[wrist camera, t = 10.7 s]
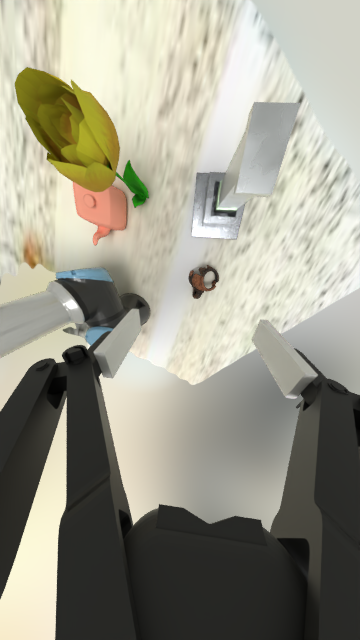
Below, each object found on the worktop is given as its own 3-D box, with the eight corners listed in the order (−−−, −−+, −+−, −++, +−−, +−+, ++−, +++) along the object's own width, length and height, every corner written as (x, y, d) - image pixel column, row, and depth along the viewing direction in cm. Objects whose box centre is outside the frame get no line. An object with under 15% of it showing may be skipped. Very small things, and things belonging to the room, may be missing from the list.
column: (212, 217, 33) (234, 192, 15) (217, 183, 29) (252, 102, 12) (230, 218, 32) (273, 194, 15) (237, 184, 29) (301, 103, 12)
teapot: (130, 178, 37) (110, 159, 29) (127, 248, 47) (112, 250, 38) (89, 166, 37) (56, 142, 28) (95, 239, 46) (72, 239, 37)
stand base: (191, 236, 43) (191, 235, 33) (196, 175, 36) (198, 148, 25) (235, 239, 43) (249, 239, 32) (249, 177, 35) (274, 150, 25)
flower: (154, 219, 42) (93, 187, 16) (129, 210, 41) (24, 163, 16) (160, 182, 37) (85, 55, 12) (131, 172, 37) (-12, 16, 11)
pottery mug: (190, 261, 48) (203, 261, 41) (210, 269, 52) (225, 270, 45) (181, 294, 51) (192, 299, 44) (201, 298, 56) (213, 304, 49)
